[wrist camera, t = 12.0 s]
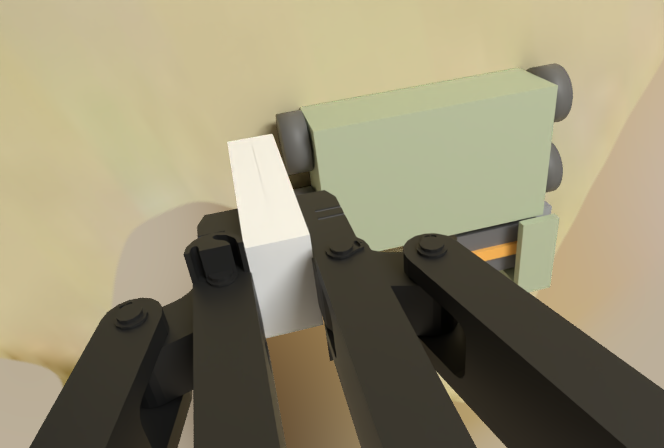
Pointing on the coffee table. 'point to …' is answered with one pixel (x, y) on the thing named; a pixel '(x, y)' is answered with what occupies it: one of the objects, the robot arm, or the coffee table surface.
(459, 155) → the green wheeled box
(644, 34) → the coffee table surface
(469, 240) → the orange striped grey block
